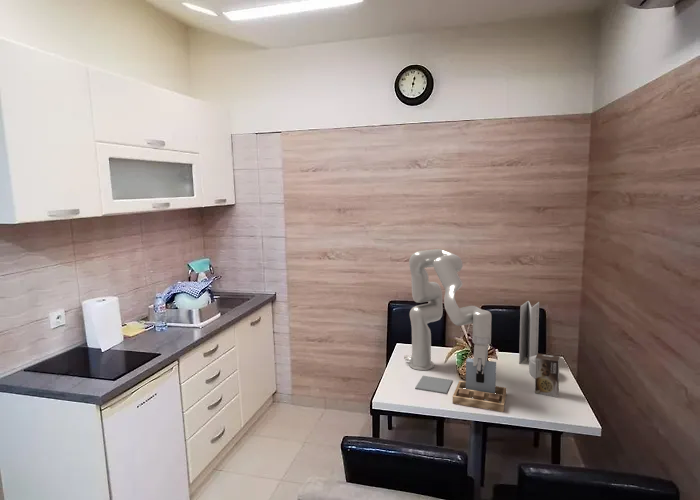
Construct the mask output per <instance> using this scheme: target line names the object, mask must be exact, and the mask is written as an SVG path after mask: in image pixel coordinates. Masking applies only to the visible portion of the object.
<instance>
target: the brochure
mask: <svg viewBox="0 0 700 500" xmlns="http://www.w3.org/2000/svg"><path fill="white" fill-rule="evenodd" d="M519 312H520V313H519V314H520V319H519V349H518V350H519V352H518V353H519V355H518V356H519V357H518V358H519V359H518V361H519V362H518V364H521V363H522V362H523V361H524V360H525V359H526V358H527V360H528V362H529V358H530V357H531V356H535V355H537V353H539V352H538V351H539V325H540V322H539V321H540V320H539V318H540V316H539V315H540V301H538V302H537V303H536V304H534V305H533V306H532V304H531V303H530V301H529V300H527V301H525V302H524V303H523V304H522V305H520V309H519Z"/></svg>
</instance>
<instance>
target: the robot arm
mask: <svg viewBox="0 0 700 500" xmlns="http://www.w3.org/2000/svg"><path fill="white" fill-rule="evenodd" d="M408 264H409V265H408V266H409V271H410V278H411V280H410V281H411V296H412V299H413V301H414V302H415V303H419V304H418V305H415V306H413V307H411V309H410V311H409V319H410V325H411V326H410V327H411V353H412V354H411V355H408V354H406V355H404V356H403V357H404V358H403V359H404V360H405V361H407V362H408V361H409V362H408V366H409V367H410V368H411V369H413V370H416V371H428V370H431V369H433V368H434V367H435V363H434V362H433V361H432V333H431V332H432V331H431V328H430V327H429V325H428V324H430V323H434V322H437V321H440V320H441V318H442V317H443V313H444V312H443V311H444V310H443V308H445V312H446V314H447V315H448V317H449V320H450V322H452V323H453V324H454V325H455V326H458V327H460V326H465V325H470V324H472V343H473V344H474V345H473V346H474V347H473V359H474V360H473V366H474V367H475V366H476V365H477V373H476V382H480V383H484V374H483V373H484V368H485V366H486V362H487V361H488V355H489V353H488V352H489V345H491V344H492V319H493V317H492V313H491V311H489V310H485V309H482V308H480V307H478V306H476V305H467V306H463V307H459V305H458V303H457V301H456V292H457V291H459V290H460V288H462V287H463V281H462V280H461V278H460V276H459V274H458V273H459V272H460V271H461V270H462V269H463V267H464V265H463V261H462V258H461V257H460V256H459V255H457V254H455V253H453V252H451V251H447V250H443V249H439V248H438V249H437V248H436V249H435V248H434V249H426V250H425V249H424V250H418V251H415V252H414V253H412V255H411V256H410V257H409V260H408ZM426 268H433V269H434V271H435V273H436V276H437V278H438V279H439V282H440V283H441V286H442V287H443V290H444V299H443V291H442V288H441V286H440V284H439V283H438V282H436V281H429V273H428V271H427V270H426ZM426 302H428V303H426ZM420 303H423V304H420ZM443 304H444V305H443ZM443 306H444V307H443ZM481 365H482V366H483V367H482V366H481ZM481 368H482V369H481Z"/></svg>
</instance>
